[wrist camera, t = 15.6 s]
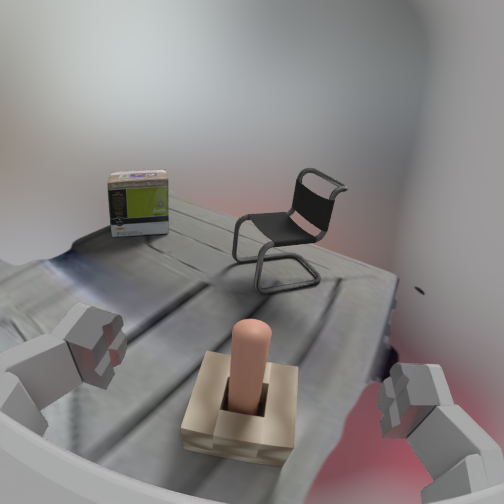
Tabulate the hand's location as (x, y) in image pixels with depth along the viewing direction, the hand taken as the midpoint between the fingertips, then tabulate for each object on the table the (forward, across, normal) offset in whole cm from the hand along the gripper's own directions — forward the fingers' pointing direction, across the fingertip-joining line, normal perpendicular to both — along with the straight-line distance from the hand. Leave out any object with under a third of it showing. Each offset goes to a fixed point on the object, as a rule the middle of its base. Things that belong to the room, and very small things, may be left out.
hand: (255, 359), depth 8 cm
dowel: (+15, 0, -28) cm, 32 cm away
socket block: (+15, 0, -30) cm, 34 cm away
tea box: (+62, -35, -30) cm, 77 cm away
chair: (+52, +2, -30) cm, 60 cm away
